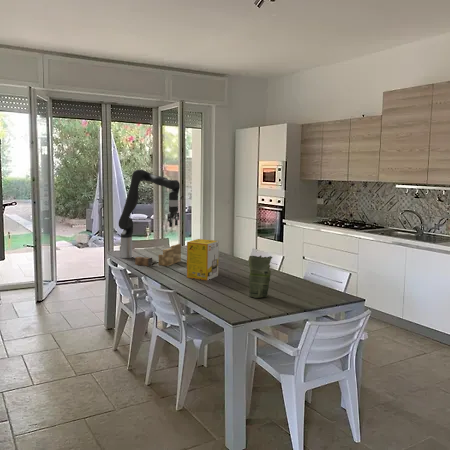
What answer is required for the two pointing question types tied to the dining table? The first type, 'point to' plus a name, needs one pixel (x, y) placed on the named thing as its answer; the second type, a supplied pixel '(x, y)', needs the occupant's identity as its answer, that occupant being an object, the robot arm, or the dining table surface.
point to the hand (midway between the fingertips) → (173, 226)
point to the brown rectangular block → (143, 261)
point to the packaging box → (202, 259)
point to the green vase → (259, 276)
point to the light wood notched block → (170, 255)
